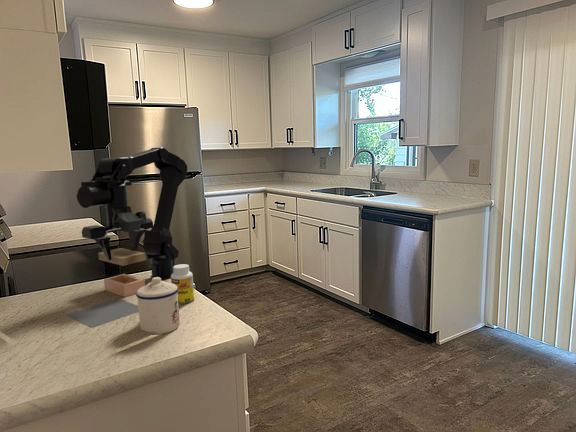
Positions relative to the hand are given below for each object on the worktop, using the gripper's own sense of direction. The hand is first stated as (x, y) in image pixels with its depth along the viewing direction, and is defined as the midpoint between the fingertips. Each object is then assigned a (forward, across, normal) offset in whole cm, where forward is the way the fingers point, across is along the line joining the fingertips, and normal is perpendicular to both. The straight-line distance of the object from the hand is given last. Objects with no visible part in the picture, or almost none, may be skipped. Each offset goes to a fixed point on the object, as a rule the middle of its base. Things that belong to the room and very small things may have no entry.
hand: (122, 257), depth 120 cm
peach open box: (+10, 0, 0) cm, 11 cm away
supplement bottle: (+11, +4, -22) cm, 25 cm away
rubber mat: (+10, -12, -12) cm, 20 cm away
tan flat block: (+1, 0, 0) cm, 1 cm away
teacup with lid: (+11, -8, -29) cm, 32 cm away
